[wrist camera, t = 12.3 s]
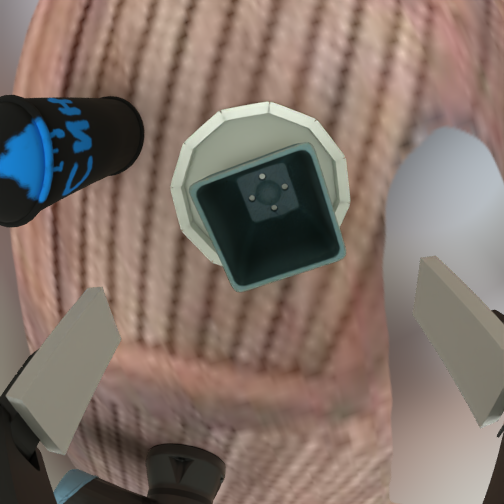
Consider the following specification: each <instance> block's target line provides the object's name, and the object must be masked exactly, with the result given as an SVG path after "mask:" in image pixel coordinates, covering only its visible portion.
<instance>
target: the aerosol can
mask: <svg viewBox="0 0 504 504" xmlns="http://www.w3.org/2000/svg"><path fill="white" fill-rule="evenodd" d="M143 139H144V128H143V123H142V120H141V118H140V115H139V113H138V112H137V110H136V109H135V108H134V107H133V106H132V105H131V104H130V103H129V102H127V101H126V100H124V99H122V98H119V97H113V96H107V97H101V98H23V97H19V96H16V95H4V96H1V97H0V225H1V226H5V227H19V226H22V225H25V224H27V223H28V222H29V221H31V220H32V219H34V217H35V216H36V215H37V214H38V213H39V212H40V211H41V210H43V209H44V208H46V207H48V206H50V205H52V204H53V203H55V202H57V201H59V200H61V199H63V198H65V197H67V196H68V195H70V194H72V193H74V192H76V191H78V190H80V189H82V188H84V187H86V186H88V185H90V184H92V183H94V182H96V181H98V180H100V179H103V178H105V177H107V176H112V175H116V174H119V173H121V172H123V171H125V170H126V169H128V168H129V167H130V166H131V165H132V164H133V163H134V161H135V160H136V159H137V157H138V155H139V153H140V151H141V148H142V145H143Z"/></svg>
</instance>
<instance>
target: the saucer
mask: <svg viewBox="0 0 504 504" xmlns="http://www.w3.org/2000/svg"><path fill="white" fill-rule="evenodd" d="M304 142H309V143H311V144H312V145H313V146H314V148H315V151H316V153H317V157H318V160H319V163H320V166H321V169H322V172H323V176H324V179H325V182H326V185H327V188H328V192H329V195H330V198H331V202H332V205H333V208H334V211H335V215H336V218H337V221H338V225H339V228H340V225H341V223H342V221H343V219H344V217H345V214H346V212H347V210H348V208H349V206H350V203H349V202H350V192H349V182H348V172H347V164H346V158H344V157H345V156H344V154H343V153H342V152H341V150H340V149H339V148H338V146H337V145H336V144H335V142H334V141H333V140H332V138H331V137H330V136H329V135H328V133H327V132H326V131H325V129H324V128H323V127H322V126H321V124H320V123H319V122H318V121H317V120H315V118H312V117H310V116H307V115H305V114H302V113H300V112H297V111H295V110H292V109H289V108H287V107H284V106H281V105H279V104H276V103H273V102H270V103H269V101H268V102H262V103H256V104H250V105H244V106H239V107H234V108H228V109H223V110H221V111H218V112H217V113H216V114H215V115H214V116H213V117H211V118H210V119H209V120H208V121H207V122H206V123H205V124H203V125H202V126H201V127H200V128H199V129H198V130H197V131H196V132H195V133H193V134H192V135H191V136H190V137H189V138H188V139H187V140H186V141H185V143H184V144H183V145H182V149H181V152H180V155H179V158H178V162H177V165H176V168H175V172H174V175H173V179H172V182H171V186H170V187H171V188H170V190H171V194H172V198H173V202H174V206H175V209H176V213H177V217H178V221H179V225H180V229H181V230H182V232H183V233H184V234H185V235H186V237H187V238H188V239H189V240H190V241H191V242H192V243H193V244H194V245H195V246H196V247H197V248H198V249H199V250H200V251H201V252H202V253H203V254H204V255H205V256H206V257H207V258H208V259H209V260H210V261H211V262H212V261H213V263H214V264H217V265H220V266H222V264H221V261H220V259H219V257H218V255H217V253H216V250H215V248H214V246H213V244H212V242H211V240H210V238H209V235H208V233H207V231H206V229H205V227H204V225H203V222H202V221H201V218H200V216H199V214H198V212H197V210H196V208H195V205H194V204H193V202H192V199H191V197H190V194H189V187H190V186H191V185H192V184H193V183H195V182H197V181H199V180H201V179H203V178H205V177H207V176H209V175H211V174H214V173H216V172H219V171H222V170H225V169H227V168H230V167H233V166H235V165H238V164H241V163H243V162H246V161H249V160H252V159H254V158H257V157H260V156H263V155H265V154H268V153H271V152H273V151H276V150H279V149H282V148H284V147H287V146H290V145H293V144H297V143H304ZM259 177H260V178H261V179H264V178H265V175H264V174H260V176H259ZM287 187H288V185H287V184H283V185H282V188H283V189H287ZM249 199H250V200H251V201H252V200H254V199H255V197H254V196H253V195H251V196H250V197H249ZM276 209H277V206H276V205H273V206H272V210H276Z"/></svg>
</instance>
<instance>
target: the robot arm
mask: <svg viewBox="0 0 504 504" xmlns="http://www.w3.org/2000/svg"><path fill="white" fill-rule="evenodd" d="M413 316H414V318H415V319H416V321H417V322H418V323H419V325H420V327H421V328H422V330H423V331H424V333H425V334H426V336H427V337H428V339H429V341H430V342H431V344H432V345H433V347H434V348H435V350H436V352H437V353H438V355H439V357H440V358H441V360H442V361H443V363H444V365H445V366H446V368H447V370H448V371H449V373H450V375H451V376H452V378H453V380H454V381H455V383H456V385H457V387H458V389H459V390H460V392H461V394H462V396H463V397H464V399H465V401H466V403H467V404H468V406H469V408H470V410H471V412H472V413H473V415H474V417H475V419H476V421H477V423H478V425H479V427H480V428H482V427H485V426H487V425H489V424H492V423H494V422H496V421H498V420H499V418H500V416H501V415H502V413H503V411H504V315H503V314H502V313H500V312H498V311H497V310H490V309H489V308H488V307H487V306H486V305H485V304H484V303H483V302H482V300H481V299H480V298H479V297H478V296H477V295H476V294H475V293H474V292H473V291H472V290H471V289H470V288H469V287H468V286H467V285H466V284H465V283H464V282H463V281H462V280H461V279H460V278H459V277H457V276H456V274H455V273H453V272H452V271H451V270H450V269H449V268H448V267H447V266H446V265H445V264H444V263H443V262H442V261H441V260H439V258H438V257H436V256H432V257H423V258H420V265H419V274H418V281H417V288H416V295H415V302H414V308H413ZM120 341H121V337H120V334H119V332H118V329H117V326H116V324H115V321H114V318H113V316H112V313H111V310H110V307H109V304H108V302H107V299H106V296H105V293H104V290H103V287H94V288H88V289H87V290H86V291H85V292H84V293H83V294H82V296H81V297H80V298H79V299H78V300H77V302H76V303H75V304H74V305H73V306H72V308H71V309H70V310H69V311H68V313H67V314H66V315H65V316H64V317H63V319H62V320H61V321H60V322H59V324H58V325H57V326H56V327H55V329H54V330H53V331H52V333H51V334H50V335H49V336H48V338H47V339H46V340H45V342H44V343H43V344H42V346H41V347H40V348H39V349H38V350H37V351H35V352H34V353H33V354H32V355H30V356H29V357H28V359H27V360H26V361H25V363H24V364H23V367H21V368H20V370H19V371H18V372H17V375H15V377H14V378H13V379H12V381H11V382H10V384H9V385H8V386H7V388H6V389H5V391H4V392H3V394H2V395H1V396H0V504H213V500H214V498H215V496H216V494H217V492H218V490H219V488H220V486H221V484H222V482H223V481H224V478H225V464H224V463H223V462H222V460H220V459H219V458H218V457H216V456H215V455H213V454H211V453H209V452H207V451H204V450H201V449H198V448H195V447H190V446H185V445H177V444H165V445H158V446H155V447H153V448H151V449H150V450H149V452H148V455H147V459H146V467H147V478H148V485H149V490H148V495H147V497H145V496H142V495H140V494H137V493H134V492H131V491H129V490H126V489H124V488H121V487H119V486H117V485H114V484H112V483H110V482H107V481H105V480H103V479H101V478H99V477H98V476H93V475H91V474H88V473H86V472H84V471H81V470H79V469H72V470H70V471H68V472H67V473H66V474H65V475H64V477H63V478H62V479H61V481H60V482H59V484H58V485H57V487H56V489H55V490H54V492H53V490H52V487H51V484H50V481H49V478H48V475H47V472H46V468H45V465H44V461H43V458H42V455H41V452H40V450H39V449H38V448H37V445H38V443H39V441H41V442H42V444H43V445H44V446H45V447H46V448H47V450H48V451H51V452H55V453H58V454H62V455H65V454H66V452H67V450H68V447H69V445H70V443H71V441H72V438H73V436H74V434H75V432H76V430H77V427H78V425H79V423H80V421H81V419H82V417H83V415H84V412H85V410H86V408H87V406H88V404H89V402H90V400H91V398H92V396H93V394H94V392H95V390H96V388H97V386H98V384H99V382H100V380H101V378H102V376H103V374H104V372H105V370H106V368H107V366H108V364H109V362H110V360H111V358H112V356H113V354H114V352H115V350H116V349H117V347H118V345H119V343H120ZM503 431H504V425H503V426H502V428H501V429H500V431H499V432H498V434H497V437H500V435H501V434H502V432H503ZM483 504H504V433H503V437H502V441H501V445H500V450H499V454H498V457H497V461H496V464H495V468H494V471H493V474H492V478H491V481H490V484H489V487H488V490H487V493H486V496H485V498H484V501H483Z"/></svg>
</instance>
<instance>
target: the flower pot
mask: <svg viewBox="0 0 504 504" xmlns="http://www.w3.org/2000/svg"><path fill="white" fill-rule="evenodd" d="M260 174H264V175H265V178H264V179H261V178H260V177H259V176H260ZM283 184H287V185H288V187H287V189H283V188H282V185H283ZM189 194H190V197H191V199H192V202H193V204H194V205H195V208H196V210H197V212H198V214H199V216H200V218H201V221H202V222H203V225H204V227H205V229H206V231H207V233H208V235H209V238H210V240H211V242H212V244H213V246H214V248H215V250H216V253H217V255H218V257H219V259H220V261H221V264H222V266H223V268H224V270H225V272H226V275H227V277H228V280H229V282H230V284H231V286H232V287H233V289H234V290H235V291H236V292H244V291H248V290H250V289H253V288H257V287H260V286H263V285H266V284H269V283H272V282H275V281H278V280H281V279H284V278H287V277H290V276H293V275H297V274H300V273H302V272H306V271H309V270H313V269H315V268H318V267H321V266H324V265H328V264H331V263H334V262H336V261H339V260H341V259H343V258H344V257H345V256H346V248H345V244H344V241H343V238H342V234H341V231H340V228H339V225H338V221H337V218H336V215H335V211H334V208H333V205H332V202H331V198H330V195H329V192H328V188H327V185H326V182H325V179H324V176H323V172H322V169H321V166H320V163H319V160H318V157H317V153H316V151H315V148H314V146H313V145H312V144H311V143H309V142H304V143H297V144H293V145H290V146H287V147H284V148H282V149H279V150H276V151H273V152H271V153H268V154H265V155H263V156H260V157H257V158H254V159H252V160H249V161H246V162H243V163H241V164H238V165H235V166H233V167H230V168H227V169H225V170H222V171H219V172H216V173H214V174H211V175H209V176H207V177H205V178H203V179H201V180H199V181H197V182H195V183H193V184H192V185H191V186H190V187H189ZM251 195H253V196H254V197H255V199H254V200H252V201H251V200H250V199H249V197H250V196H251ZM273 205H276V206H277V209H276V210H272V206H273Z"/></svg>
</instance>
